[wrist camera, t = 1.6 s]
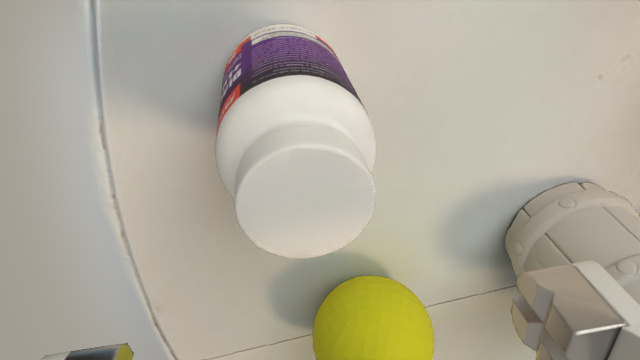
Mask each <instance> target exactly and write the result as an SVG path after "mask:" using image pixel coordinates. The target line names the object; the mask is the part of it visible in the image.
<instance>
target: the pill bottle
mask: <svg viewBox="0 0 640 360" xmlns="http://www.w3.org/2000/svg"><path fill="white" fill-rule="evenodd" d="M215 155H216V163H217V168H218V171H219V174H220V176H221V179H222V181H223V183H224V186H225V187H226V189H227V190H228V192H229V193H230V194H231V195H232V197H233V198H234V199H235V212H236V217H237V221H238V223H239V226H240V228H241V229H242V231H243V233H244V234H245V235H246V236H247V237H248V239H249V240H250V241H251V242H253V243H254V244H255V245H256V246H258V247H259V248H261V249H263V250H265V251H267V252H269V253H271V254H274V255H277V256H281V257H286V258H296V259H303V258H313V257H318V256H323V255H326V254H329V253H332V252H334V251H336V250H339V249H341V248H342V247H344V246H346V245H347V244H349V243H350V242H351V241H353V240H354V239H355V238H356V237H357V236H358V235H359V234H360V233H361V232H362V231H363V230H364V228H365V227H366V225H367V224H368V222H369V221H370V218H371V216H372V214H373V211H374V207H375V200H376V193H375V186H374V182H373V179H372V176H371V172H372V170H373V167H374V163H375V157H376V140H375V135H374V130H373V126H372V124H371V121H370V119H369V117H368V114H367V112H366V110H365V108H364V106H363V104H362V103H361V101H360V99H359V97H358V95H357V93H356V91H355V89H354V88H353V86H352V84H351V82H350V80H349V78H348V77H347V75H346V73H345V71H344V69H343V67H342V65H341V63H340V61H339V59H338V58H337V56H336V54H335V53H334V51H333V50H332V48H331V47H330V46H329V45H328V44H327V43H326V42H325V40H323V39H322V38H321V37H320V36H319V35H317V34H316V33H314V32H312V31H311V30H308V29H306V28H304V27H301V26H297V25H291V24H275V25H270V26H266V27H263V28H260V29H258V30H256V31H254V32H252V33H251V34H249V35H248V36H246V37H245V38H244V39H243V40H242V41H241V42H240V43H239V44H238V45H237V46H236V47H235V49H234V50H233V52H232V53H231V55H230V57H229V59H228V62H227V64H226V68H225V71H224V77H223V84H222V92H221V101H220V109H219V117H218V126H217V134H216V142H215Z"/></svg>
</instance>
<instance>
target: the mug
mask: <svg viewBox="0 0 640 360" xmlns="http://www.w3.org/2000/svg"><path fill="white" fill-rule="evenodd" d="M523 208H524V210H523V209H521V210H520V211H519V212H518V214H517V216H516V218H515V220H514V221H513V223H512V225H511V227H510V228H509V229H508V232H507V234H506V238H505V246H506V250H507V252H508V255H509V257H510V258H511V260H512V267H513V269H514V272H515V273H516V275H517V276H519V275H520V274H521V273H522V272H527V271H532V270H537V269H543V268H548V267H553V266H558V265H564V264H566V265H567V264H572V263H577V262H583V261H589V260H593V261H595V262H597V263H599V264H600V265H601V266H602V267H603V268H604V269H605V270H606V271H607V272H608V273H609V274H610V275H611V276H612V277H613V278H614V279H615V280H616V281H617V282H618V283H619V284H620V285H621V286H622V287H623V288H624V290H625V291H626V292H627V293H628V294H629V295H630V296H631V297H632V298H633V299H634V300H635V301H636V302H637V303H638V304H639V305H640V218H639V215H638V213H637V211H636V210H635V208H634V207H633V206H632V205H631V203H630V202H629V201H628V200H627V199H626V198H624V197H622V196H619V195H618V194H616V193H614V192H610V191H606V190H604V189H603V188H601V187H600V186H598V185H595V184H592V183H585V182H583V183H582V184H580V185H579V184H578V183H576V182H572V183H566V184H563V185H560V186H556V187H554V188H551V189H549V190H547V191H545V192H543V193H542V194H540V195H538V196H537V197H535V198H534V199H532V200H531V201H530V202H528V203H527V204H526V205H525V206H524V207H523Z"/></svg>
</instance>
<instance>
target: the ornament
mask: <svg viewBox="0 0 640 360" xmlns="http://www.w3.org/2000/svg"><path fill="white" fill-rule="evenodd" d="M313 349H314V352H315V356H316V360H432V358H433V352H434V334H433V328H432V323H431V320H430V318H429V315H428V313H427V311H426V309H425V307H424V305H423V304H422V303H421V301H420V300H419V299H418V297H417V296H416V295H415V294H414V293H413V292H412V291H410V290H409V289H408V288H407V287H406V286H404V285H402V284H401V283H399V282H397V281H395V280H392V279H389V278H386V277H380V276H360V277H355V278H352V279H349V280H347V281H345V282H343V283H342V284H340V285H339V286H337V287H336V288H335V289H334V290H333V291H332V292H330V293H329V294H328V296H327V297H326V298H325V300H324V301H323V303H322V304H321V306H320V307H319V310H318V312H317V314H316V317H315V321H314V326H313Z"/></svg>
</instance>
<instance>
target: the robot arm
mask: <svg viewBox="0 0 640 360" xmlns="http://www.w3.org/2000/svg"><path fill="white" fill-rule="evenodd" d="M516 286H517V287H518V289H519V290H520V293H519V294H518V295H517V296H516V297H515V298H514V299H513V302H512V308H511V314H512V319H513V324H514V326H515V329H516V331H517V333H518V335H519V337H520V338H521V340H522V342H523V343H524V344H525V345H527V346H528V347H530V348H532V349H533V350H535V351H537V352H536V360H640V305H639V304H638V303H637V302H636V301H635V300H634V299H633V298H632V297H631V296H630V295H629V294H628V293H627V292H626V291H625V290H624V288H623V287H622V286H621V285H620V284H619V283H618V282H617V281H616V280H615V279H614V278H613V277H612V276H611V275H610V274H609V273H608V272H607V271H606V270H605V269H604V268H603V267H602V266H601V265H600V264H599V263H597V262H595V261H593V260H589V261H583V262H577V263H572V264H567V265H566V264H564V265H558V266H553V267H548V268H543V269H537V270H532V271H527V272H522V273H521V274H520V275H519V276H518V279H517V283H516ZM133 354H134V353H133V351H132V350H131V348H130V346H129V345H128V343H124V344H117V345H110V346H103V347H96V348H90V349H83V350H77V351H71V352H64V353H58V354H52V355H46V356H44V357H43V358H42V360H132V358H133Z"/></svg>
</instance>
